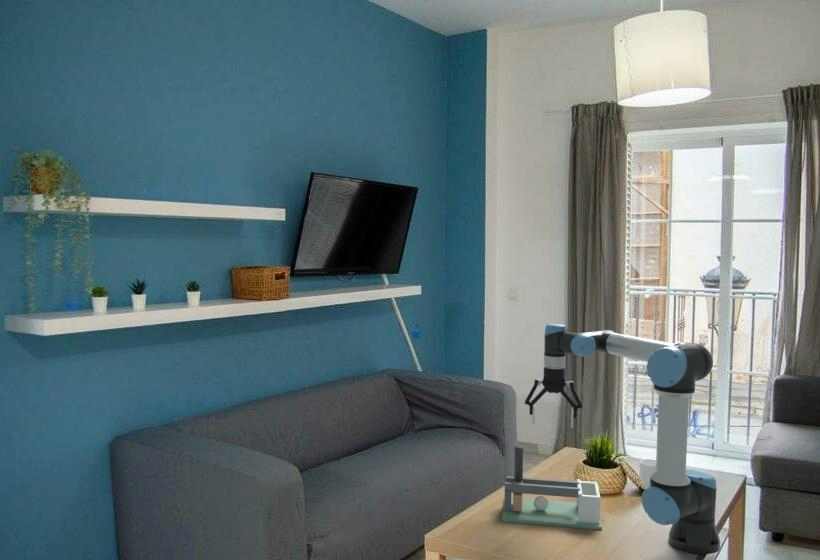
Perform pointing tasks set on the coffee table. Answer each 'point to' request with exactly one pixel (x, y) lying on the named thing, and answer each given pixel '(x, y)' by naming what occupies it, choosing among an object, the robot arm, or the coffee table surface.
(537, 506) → the ball
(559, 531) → the coffee table surface
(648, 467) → the mug
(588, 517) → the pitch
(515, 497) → the post
